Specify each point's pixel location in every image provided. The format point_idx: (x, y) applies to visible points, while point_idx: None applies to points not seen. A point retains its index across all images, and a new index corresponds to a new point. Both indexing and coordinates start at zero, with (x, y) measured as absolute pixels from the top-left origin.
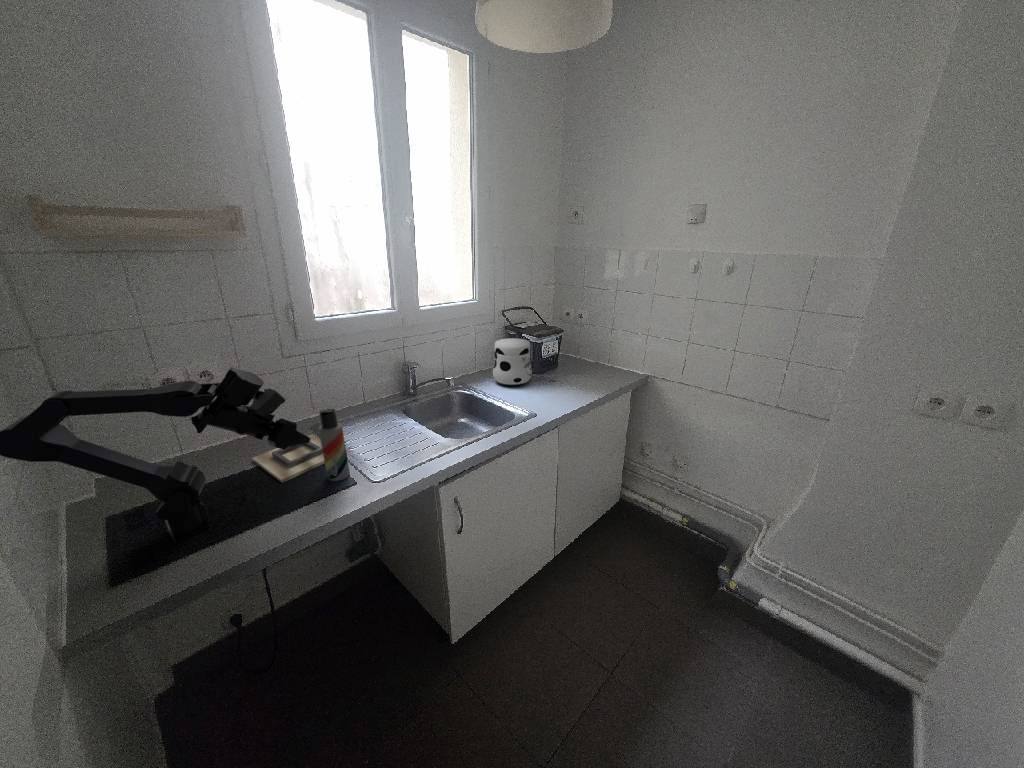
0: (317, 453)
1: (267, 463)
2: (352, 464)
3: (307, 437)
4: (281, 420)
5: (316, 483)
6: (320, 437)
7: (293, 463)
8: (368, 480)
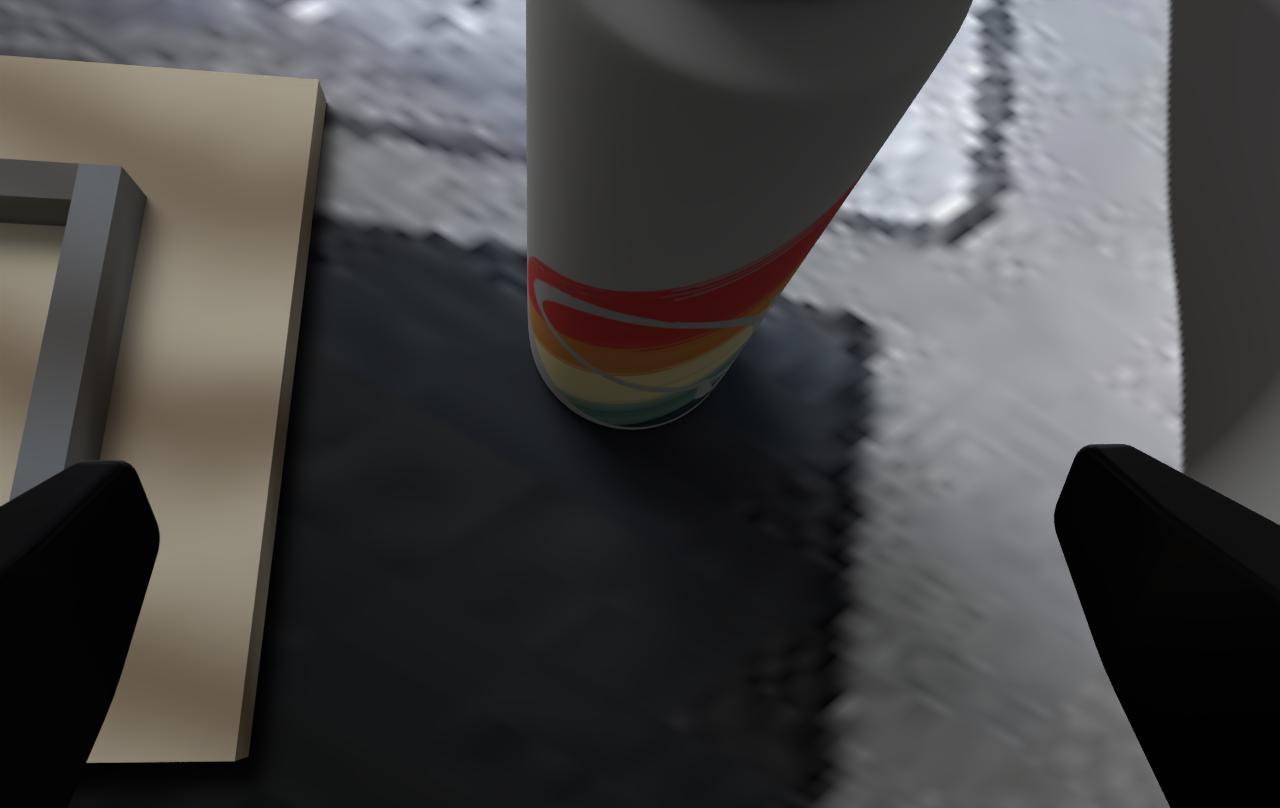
0: (124, 243)
1: None
2: None
3: (1233, 517)
4: None
5: (568, 535)
6: (706, 189)
7: None
8: (900, 243)
